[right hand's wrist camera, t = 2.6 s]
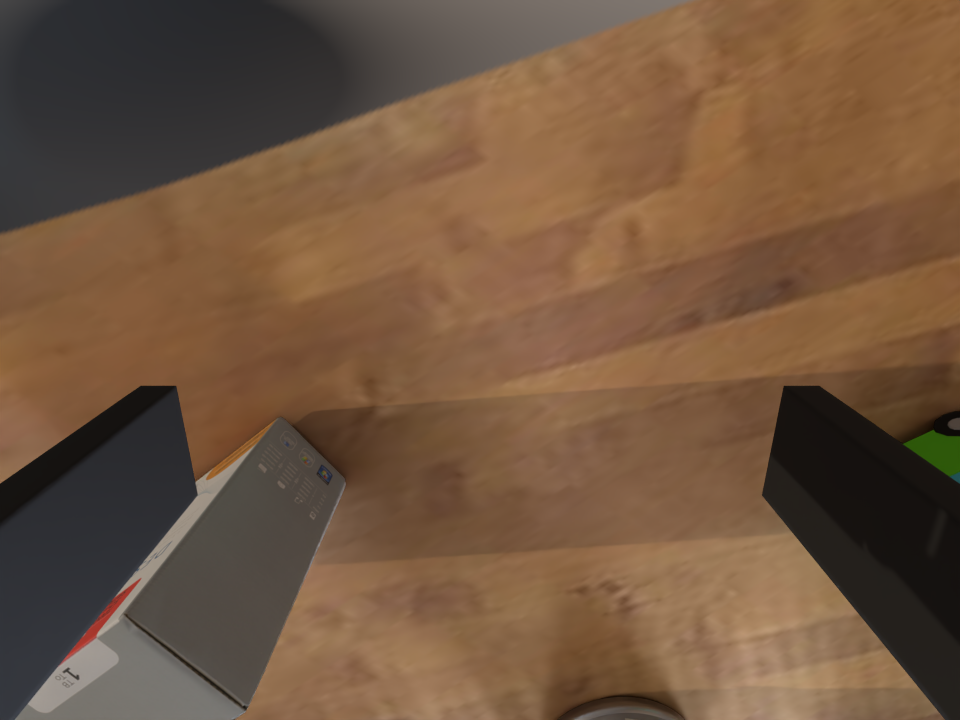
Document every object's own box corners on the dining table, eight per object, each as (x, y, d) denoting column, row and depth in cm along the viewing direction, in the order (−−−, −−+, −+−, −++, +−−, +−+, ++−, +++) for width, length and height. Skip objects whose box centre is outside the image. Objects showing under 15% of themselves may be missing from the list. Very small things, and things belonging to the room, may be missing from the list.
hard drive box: (281, 410, 43) (127, 612, 24) (350, 479, 45) (258, 714, 26) (144, 518, 46) (-83, 769, 28) (215, 578, 48) (48, 849, 30)
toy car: (800, 466, 45) (885, 551, 35) (972, 386, 42) (1112, 454, 33) (842, 558, 48) (931, 658, 38) (1005, 488, 45) (1142, 577, 36)
